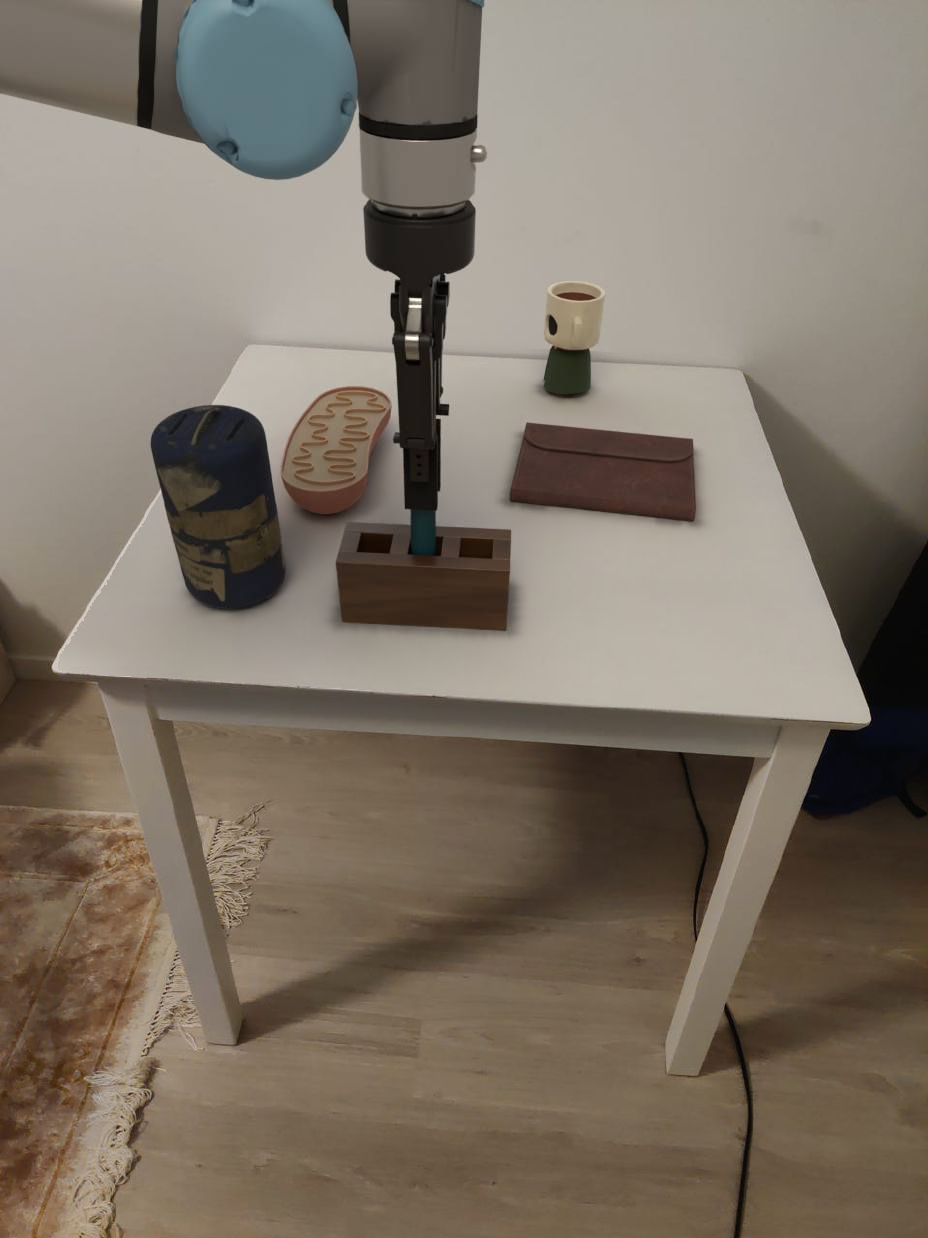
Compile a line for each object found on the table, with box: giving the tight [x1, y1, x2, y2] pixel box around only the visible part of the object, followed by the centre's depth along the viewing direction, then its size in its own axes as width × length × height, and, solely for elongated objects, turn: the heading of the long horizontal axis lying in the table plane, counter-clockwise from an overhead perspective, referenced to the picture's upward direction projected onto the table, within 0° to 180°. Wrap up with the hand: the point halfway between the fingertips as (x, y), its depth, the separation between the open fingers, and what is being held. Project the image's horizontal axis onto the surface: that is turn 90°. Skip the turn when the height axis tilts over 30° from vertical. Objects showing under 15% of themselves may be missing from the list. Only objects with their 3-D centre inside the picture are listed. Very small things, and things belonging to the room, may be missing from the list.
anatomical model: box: [279, 385, 392, 515], centre depth 96 cm, size 23×10×5 cm, turn 174°
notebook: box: [509, 422, 697, 522], centre depth 97 cm, size 15×20×2 cm
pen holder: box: [335, 521, 512, 632], centre depth 78 cm, size 6×15×7 cm, turn 87°
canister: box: [150, 404, 286, 610], centre depth 76 cm, size 10×10×18 cm
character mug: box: [542, 280, 606, 395], centre depth 109 cm, size 11×7×13 cm, turn 0°
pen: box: [409, 420, 437, 556], centre depth 73 cm, size 2×2×17 cm
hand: (422, 497), depth 72 cm, fingers closed on pen, 2 cm apart
